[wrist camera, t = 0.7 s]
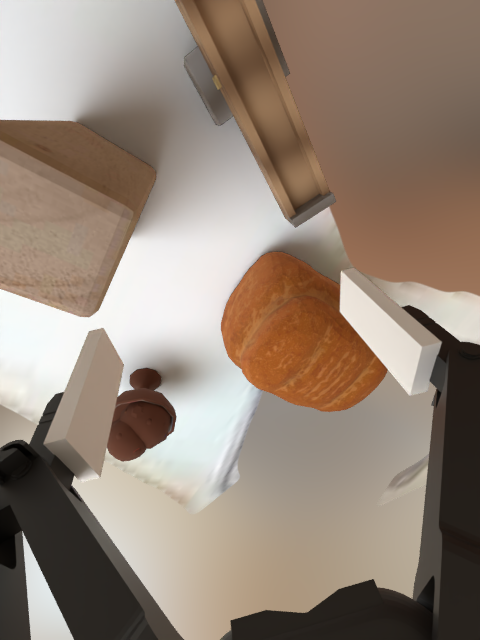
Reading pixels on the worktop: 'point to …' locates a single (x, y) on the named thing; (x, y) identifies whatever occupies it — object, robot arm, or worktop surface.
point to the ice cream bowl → (140, 417)
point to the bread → (297, 337)
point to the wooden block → (65, 211)
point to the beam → (255, 98)
